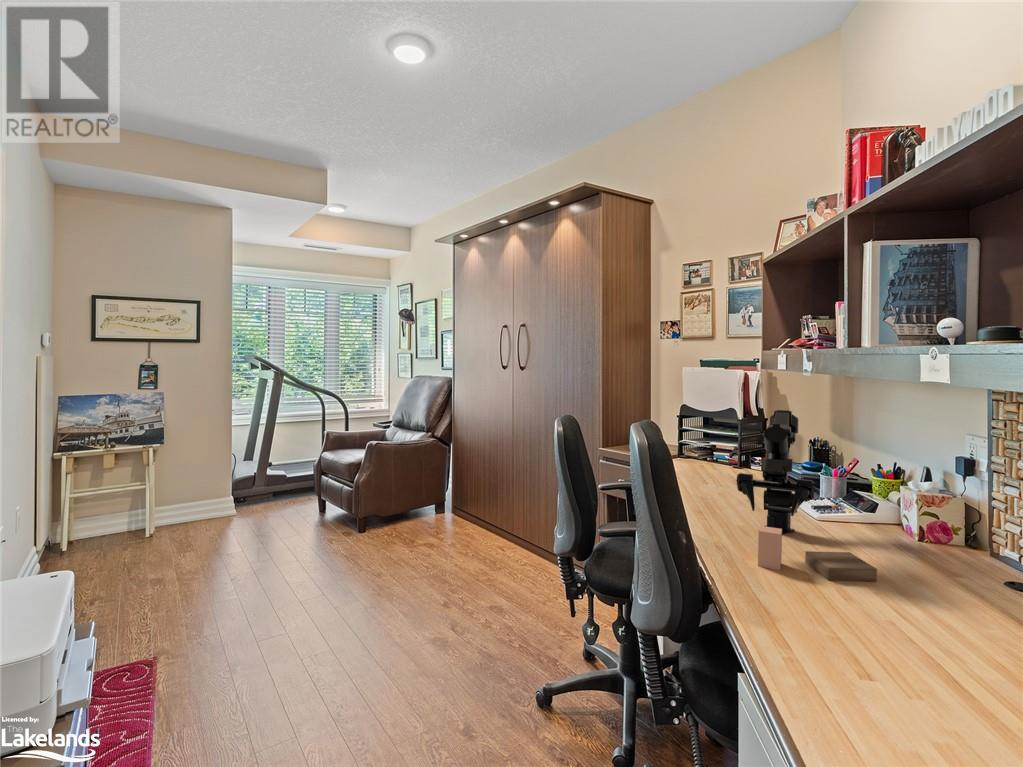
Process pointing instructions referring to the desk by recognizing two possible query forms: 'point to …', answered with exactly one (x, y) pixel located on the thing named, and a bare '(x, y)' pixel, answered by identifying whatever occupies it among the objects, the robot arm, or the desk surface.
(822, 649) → the desk surface
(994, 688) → the desk surface
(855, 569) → the walnut plinth
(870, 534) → the desk surface
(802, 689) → the desk surface
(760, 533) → the terracotta block
